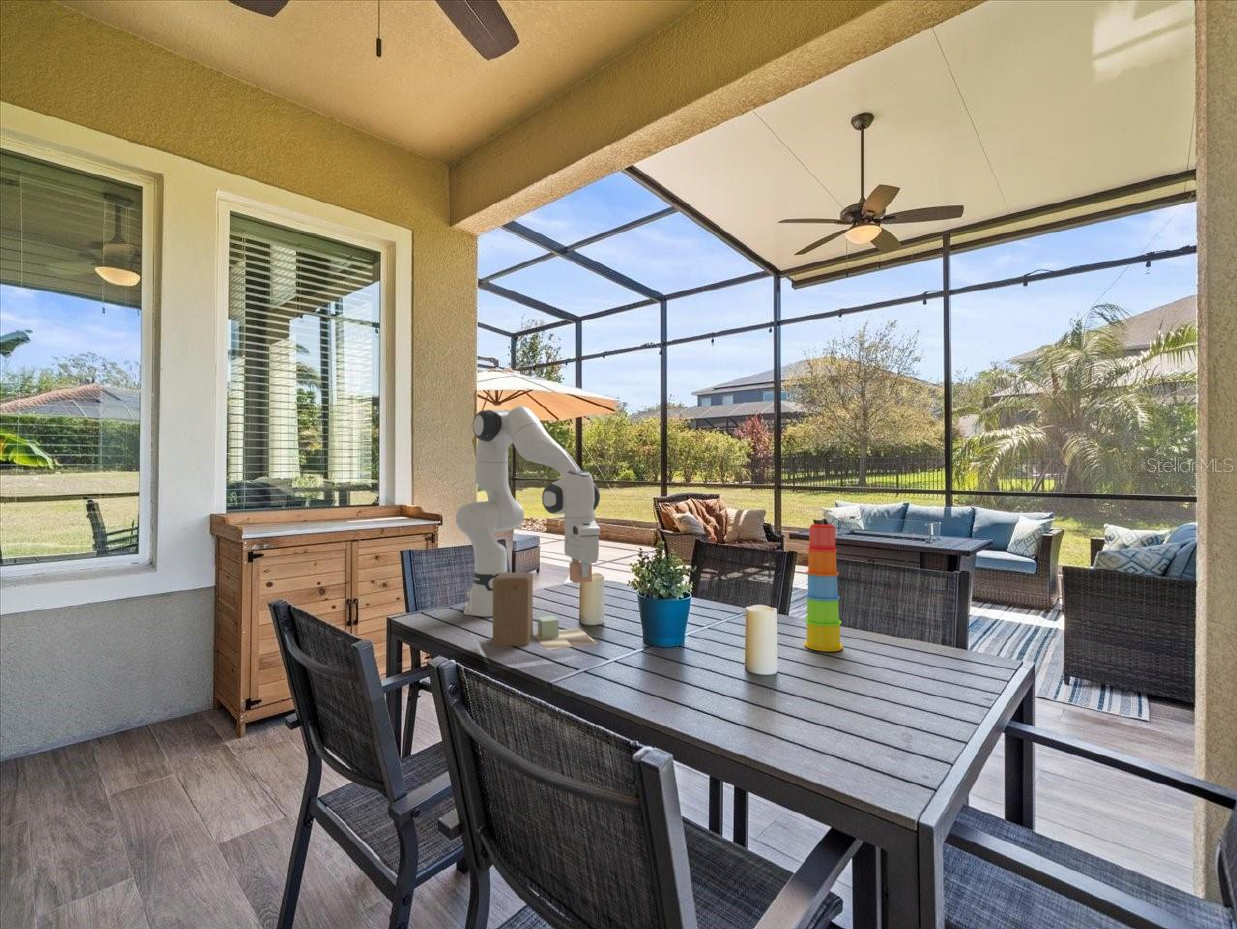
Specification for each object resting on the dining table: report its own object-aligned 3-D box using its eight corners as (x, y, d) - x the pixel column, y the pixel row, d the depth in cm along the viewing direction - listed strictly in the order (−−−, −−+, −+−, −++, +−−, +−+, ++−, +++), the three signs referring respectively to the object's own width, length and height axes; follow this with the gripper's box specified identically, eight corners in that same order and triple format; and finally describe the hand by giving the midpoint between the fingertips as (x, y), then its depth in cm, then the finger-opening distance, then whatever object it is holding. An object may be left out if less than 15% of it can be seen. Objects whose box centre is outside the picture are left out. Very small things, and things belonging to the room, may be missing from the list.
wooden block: (527, 650, 163) (527, 578, 163) (492, 650, 163) (491, 578, 163) (533, 639, 173) (533, 572, 173) (499, 639, 173) (499, 572, 173)
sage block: (537, 634, 174) (537, 617, 174) (554, 632, 176) (554, 615, 176) (542, 638, 170) (542, 621, 170) (558, 636, 171) (558, 619, 171)
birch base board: (531, 637, 175) (531, 633, 175) (579, 631, 181) (579, 627, 181) (546, 654, 159) (546, 649, 159) (598, 647, 165) (598, 643, 165)
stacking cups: (797, 646, 165) (797, 524, 165) (816, 639, 172) (815, 522, 172) (831, 655, 158) (830, 527, 158) (849, 647, 165) (849, 525, 165)
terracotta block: (569, 580, 169) (569, 562, 169) (586, 578, 171) (585, 561, 171) (575, 583, 164) (574, 565, 164) (591, 581, 166) (591, 563, 166)
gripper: (558, 524, 176) (559, 570, 176) (580, 530, 157) (581, 581, 157) (578, 523, 179) (579, 568, 178) (602, 529, 160) (603, 579, 159)
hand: (580, 575), depth 168 cm, fingers closed on terracotta block, 5 cm apart
